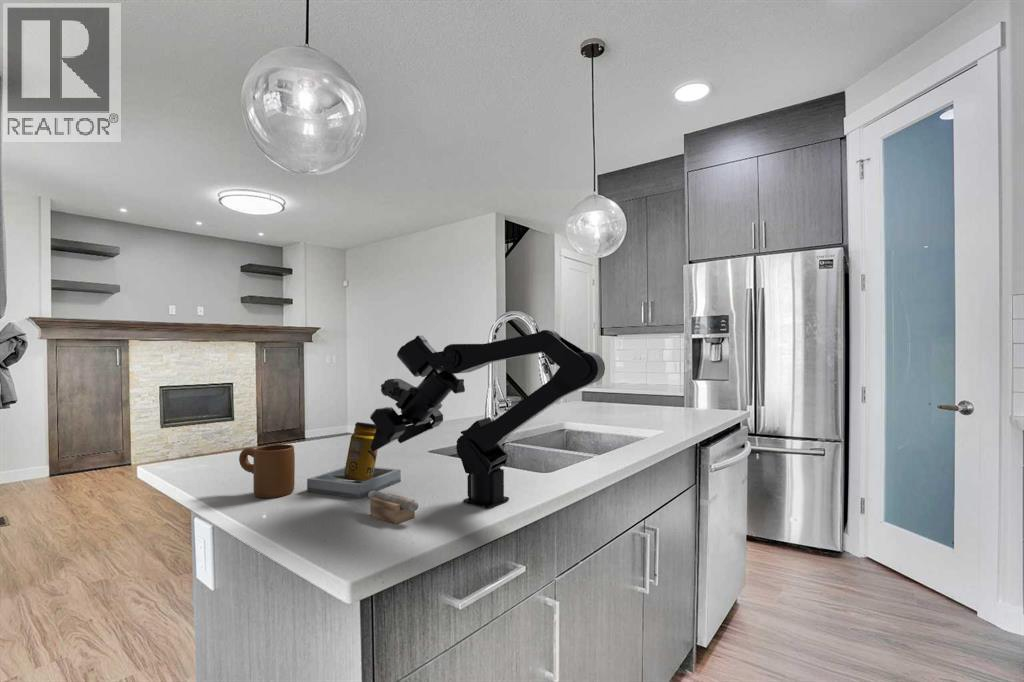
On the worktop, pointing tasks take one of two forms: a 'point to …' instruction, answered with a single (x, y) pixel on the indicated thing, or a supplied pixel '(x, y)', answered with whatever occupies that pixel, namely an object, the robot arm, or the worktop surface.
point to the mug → (270, 469)
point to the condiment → (360, 454)
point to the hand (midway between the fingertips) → (386, 445)
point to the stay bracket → (391, 507)
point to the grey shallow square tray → (353, 483)
